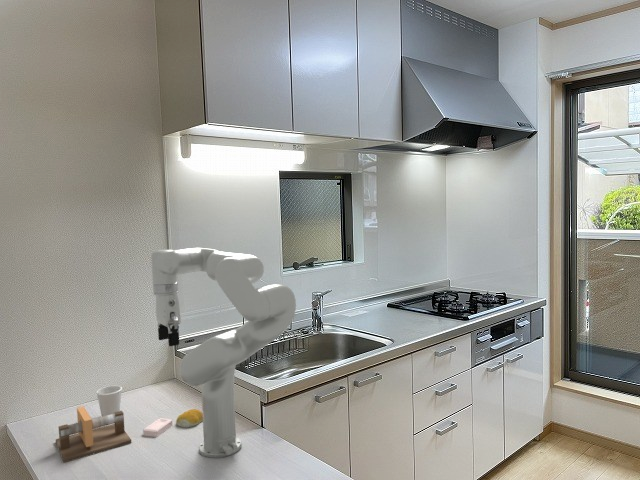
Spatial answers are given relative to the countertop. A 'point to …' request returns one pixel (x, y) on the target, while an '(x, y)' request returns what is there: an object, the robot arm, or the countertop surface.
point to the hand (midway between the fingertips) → (168, 342)
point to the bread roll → (189, 418)
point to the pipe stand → (102, 437)
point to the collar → (85, 426)
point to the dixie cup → (109, 399)
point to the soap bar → (157, 427)
